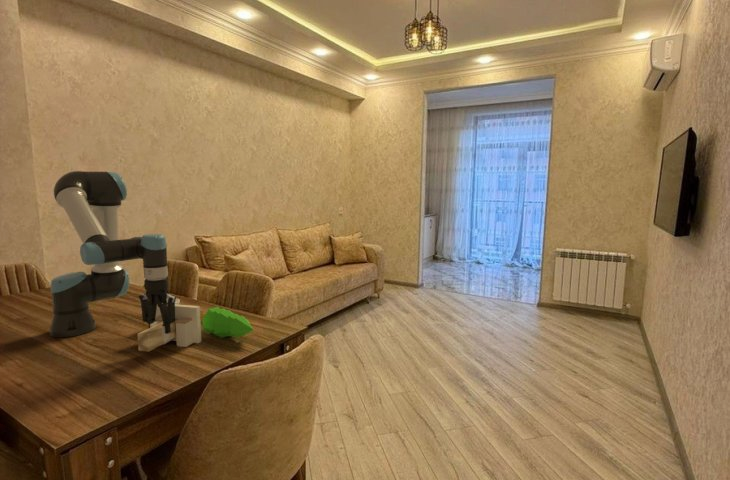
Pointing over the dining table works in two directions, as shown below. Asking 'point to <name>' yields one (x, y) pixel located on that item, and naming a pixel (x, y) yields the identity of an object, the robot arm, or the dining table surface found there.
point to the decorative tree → (224, 323)
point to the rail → (154, 337)
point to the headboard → (185, 324)
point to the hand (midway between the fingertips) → (160, 340)
